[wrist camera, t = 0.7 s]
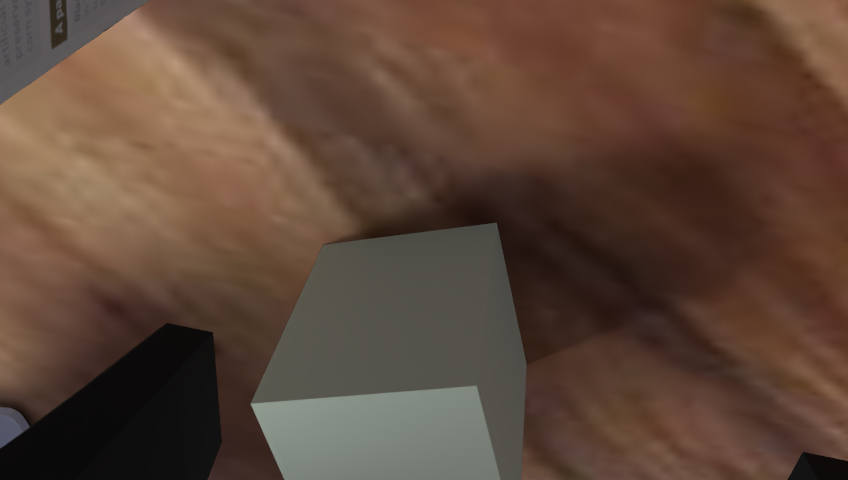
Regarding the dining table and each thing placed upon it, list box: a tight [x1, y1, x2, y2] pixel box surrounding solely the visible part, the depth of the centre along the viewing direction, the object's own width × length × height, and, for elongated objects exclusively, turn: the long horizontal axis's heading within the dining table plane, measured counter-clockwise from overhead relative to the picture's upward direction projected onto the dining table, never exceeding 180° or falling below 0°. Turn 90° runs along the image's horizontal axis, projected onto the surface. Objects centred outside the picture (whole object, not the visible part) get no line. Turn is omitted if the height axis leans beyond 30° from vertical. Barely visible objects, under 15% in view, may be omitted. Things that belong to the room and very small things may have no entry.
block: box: [251, 223, 527, 480], centre depth 19 cm, size 5×5×6 cm
